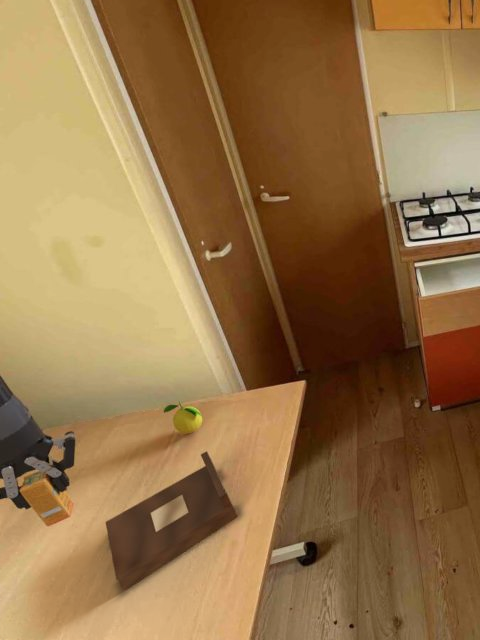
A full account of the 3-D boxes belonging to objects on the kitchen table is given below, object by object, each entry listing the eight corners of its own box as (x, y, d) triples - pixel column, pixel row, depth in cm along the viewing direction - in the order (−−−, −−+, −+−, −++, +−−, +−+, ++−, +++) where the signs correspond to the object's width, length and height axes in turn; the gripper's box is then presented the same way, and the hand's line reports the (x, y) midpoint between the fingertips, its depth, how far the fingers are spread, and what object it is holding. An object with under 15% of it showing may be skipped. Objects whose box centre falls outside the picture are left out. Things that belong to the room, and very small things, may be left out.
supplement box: (73, 516, 76) (44, 481, 72) (47, 527, 75) (15, 492, 70) (76, 501, 79) (48, 466, 74) (51, 512, 77) (20, 477, 72)
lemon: (173, 432, 105) (158, 403, 100) (200, 417, 109) (186, 388, 105) (183, 446, 101) (168, 416, 97) (210, 430, 105) (197, 401, 101)
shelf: (125, 590, 74) (106, 566, 71) (114, 534, 83) (97, 510, 80) (237, 516, 86) (226, 493, 83) (217, 473, 95) (206, 450, 91)
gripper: (-80, 470, 60) (-14, 542, 67) (59, 414, 69) (103, 483, 77) (-73, 440, 64) (-13, 510, 72) (56, 391, 74) (98, 458, 81)
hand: (47, 496), depth 74 cm, fingers closed on supplement box, 3 cm apart
